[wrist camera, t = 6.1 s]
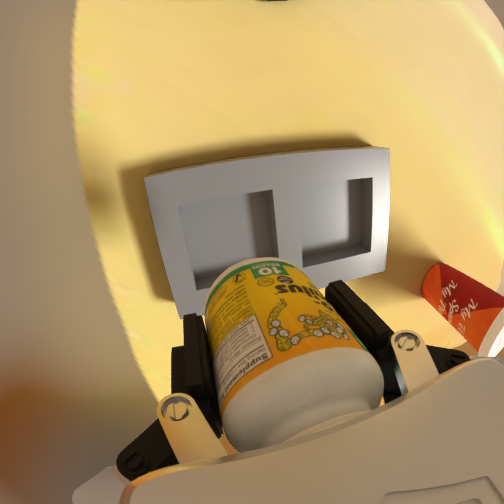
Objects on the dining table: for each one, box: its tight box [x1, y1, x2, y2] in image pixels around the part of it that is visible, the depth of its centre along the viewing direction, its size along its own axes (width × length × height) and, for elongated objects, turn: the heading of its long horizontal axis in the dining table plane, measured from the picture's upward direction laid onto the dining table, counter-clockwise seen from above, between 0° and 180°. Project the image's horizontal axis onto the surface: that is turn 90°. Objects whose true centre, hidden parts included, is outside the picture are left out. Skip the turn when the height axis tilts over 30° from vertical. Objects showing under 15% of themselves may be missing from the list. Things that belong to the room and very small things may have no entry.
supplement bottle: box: [204, 257, 384, 453], centre depth 9 cm, size 5×5×10 cm
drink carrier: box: [144, 146, 390, 319], centre depth 23 cm, size 12×20×2 cm, turn 97°
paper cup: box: [421, 263, 504, 357], centre depth 26 cm, size 8×8×14 cm
